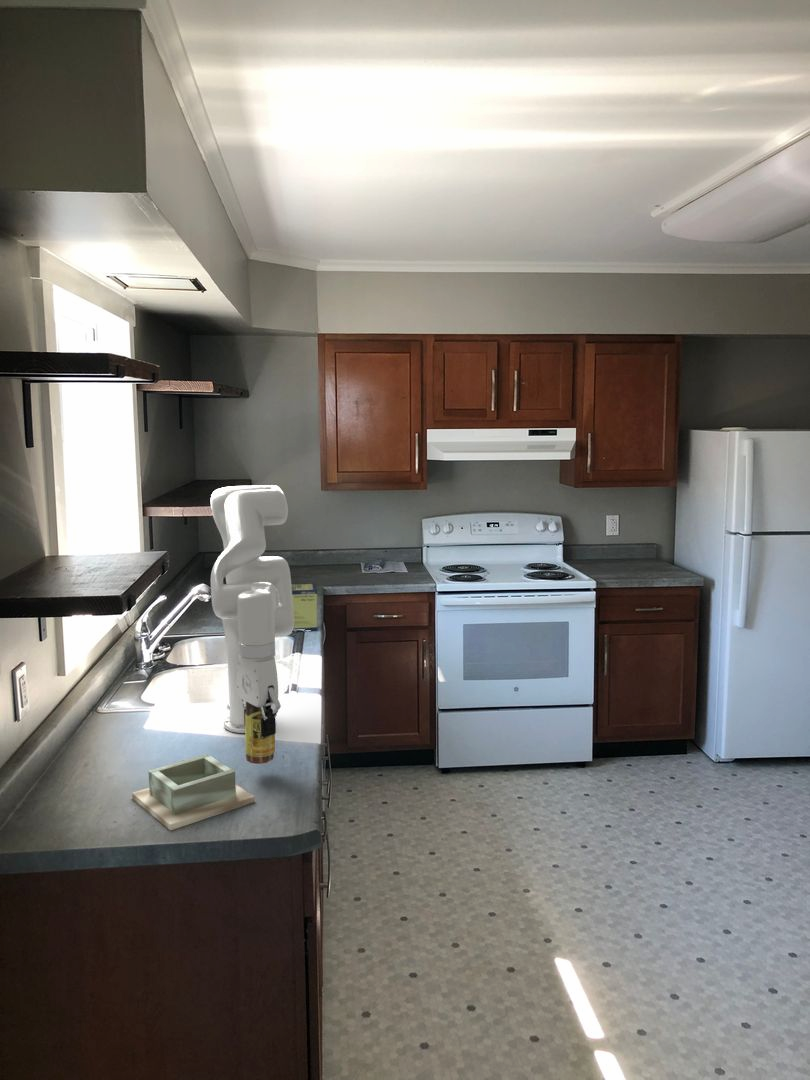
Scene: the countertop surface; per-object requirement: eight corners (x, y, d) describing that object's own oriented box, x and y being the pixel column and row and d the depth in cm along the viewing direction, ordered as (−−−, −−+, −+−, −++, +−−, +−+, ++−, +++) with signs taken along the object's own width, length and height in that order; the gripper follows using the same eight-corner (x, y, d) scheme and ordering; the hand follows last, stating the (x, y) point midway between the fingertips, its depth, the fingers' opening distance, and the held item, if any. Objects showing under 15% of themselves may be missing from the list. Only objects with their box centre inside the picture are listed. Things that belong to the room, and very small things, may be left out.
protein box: (318, 631, 306) (317, 588, 304) (274, 633, 304) (273, 590, 302) (317, 624, 317) (316, 583, 314) (275, 626, 314) (273, 584, 312)
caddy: (132, 798, 173) (130, 769, 172) (212, 774, 185) (211, 746, 184) (170, 830, 160) (168, 799, 159) (254, 802, 171) (253, 772, 170)
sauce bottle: (253, 768, 178) (250, 677, 175) (240, 757, 183) (237, 669, 180) (281, 760, 182) (278, 671, 179) (268, 750, 187) (265, 663, 184)
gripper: (221, 643, 183) (224, 722, 186) (262, 662, 169) (265, 747, 173) (252, 637, 187) (255, 714, 190) (294, 655, 174) (297, 738, 177)
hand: (260, 729), depth 181 cm, fingers closed on sauce bottle, 6 cm apart
